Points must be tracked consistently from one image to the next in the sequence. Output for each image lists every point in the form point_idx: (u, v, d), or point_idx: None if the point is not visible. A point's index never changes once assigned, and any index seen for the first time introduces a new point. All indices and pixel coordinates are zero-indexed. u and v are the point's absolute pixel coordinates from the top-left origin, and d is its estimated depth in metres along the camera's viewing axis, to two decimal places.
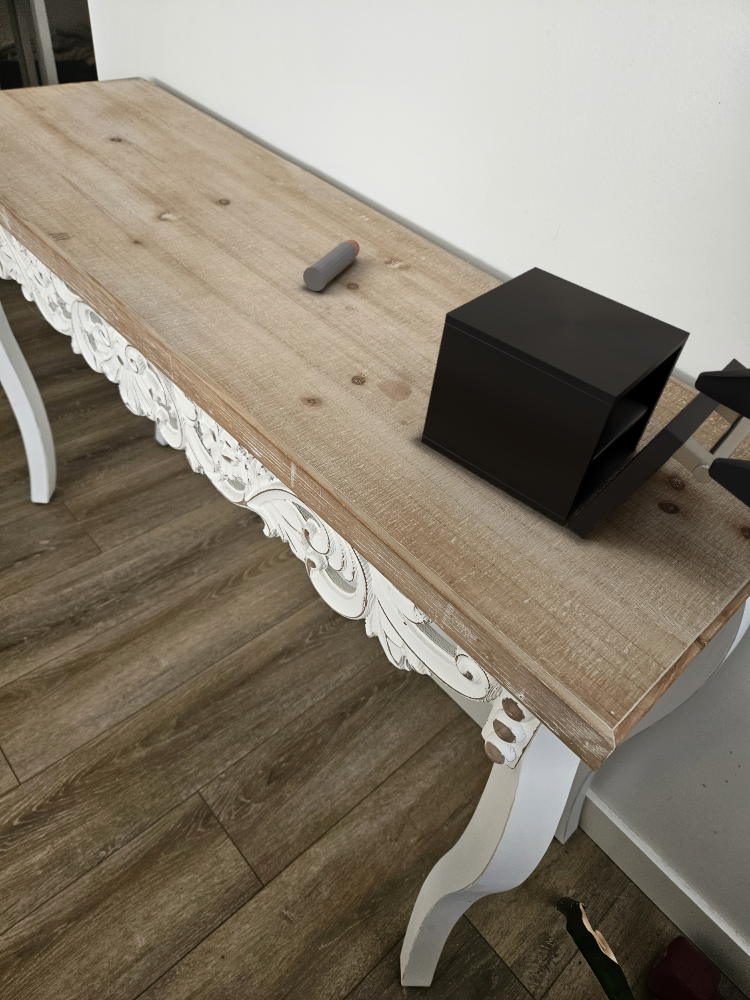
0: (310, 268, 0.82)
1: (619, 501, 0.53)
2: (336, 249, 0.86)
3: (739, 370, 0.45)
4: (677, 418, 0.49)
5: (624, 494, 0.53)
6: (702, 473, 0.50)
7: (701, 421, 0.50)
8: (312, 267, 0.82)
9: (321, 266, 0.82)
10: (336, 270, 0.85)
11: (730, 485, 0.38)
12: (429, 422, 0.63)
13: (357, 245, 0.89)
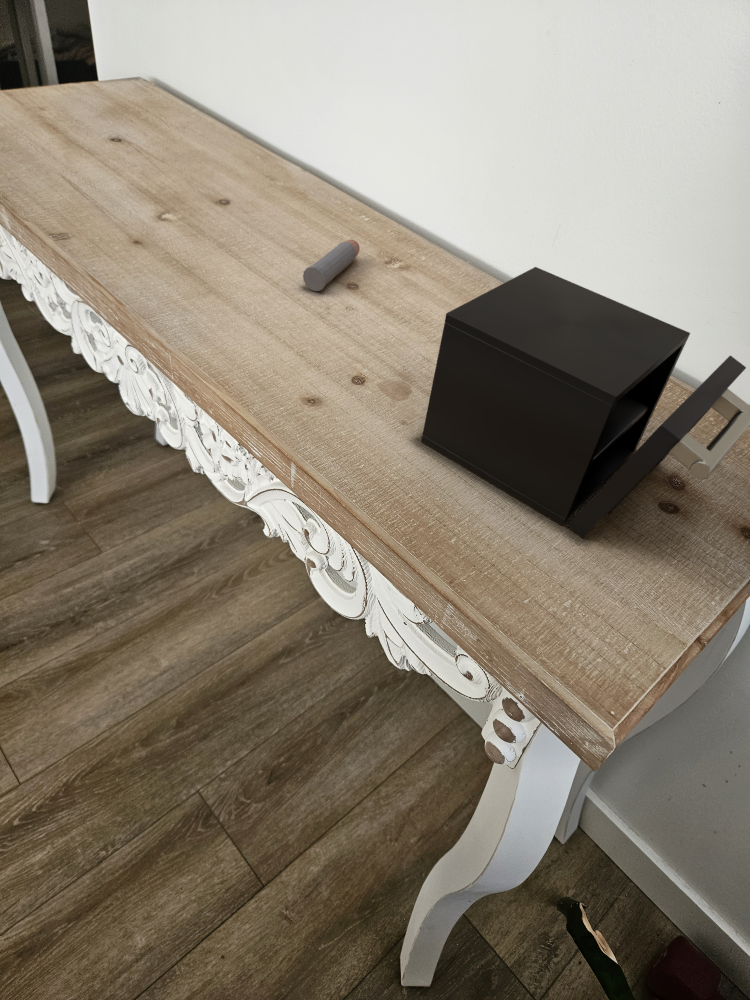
0: (310, 268, 0.82)
1: (618, 499, 0.53)
2: (336, 249, 0.86)
3: None
4: (673, 415, 0.49)
5: (622, 492, 0.53)
6: (699, 469, 0.50)
7: (697, 417, 0.50)
8: (312, 267, 0.82)
9: (321, 266, 0.82)
10: (336, 270, 0.85)
11: None
12: (429, 422, 0.63)
13: (357, 245, 0.89)
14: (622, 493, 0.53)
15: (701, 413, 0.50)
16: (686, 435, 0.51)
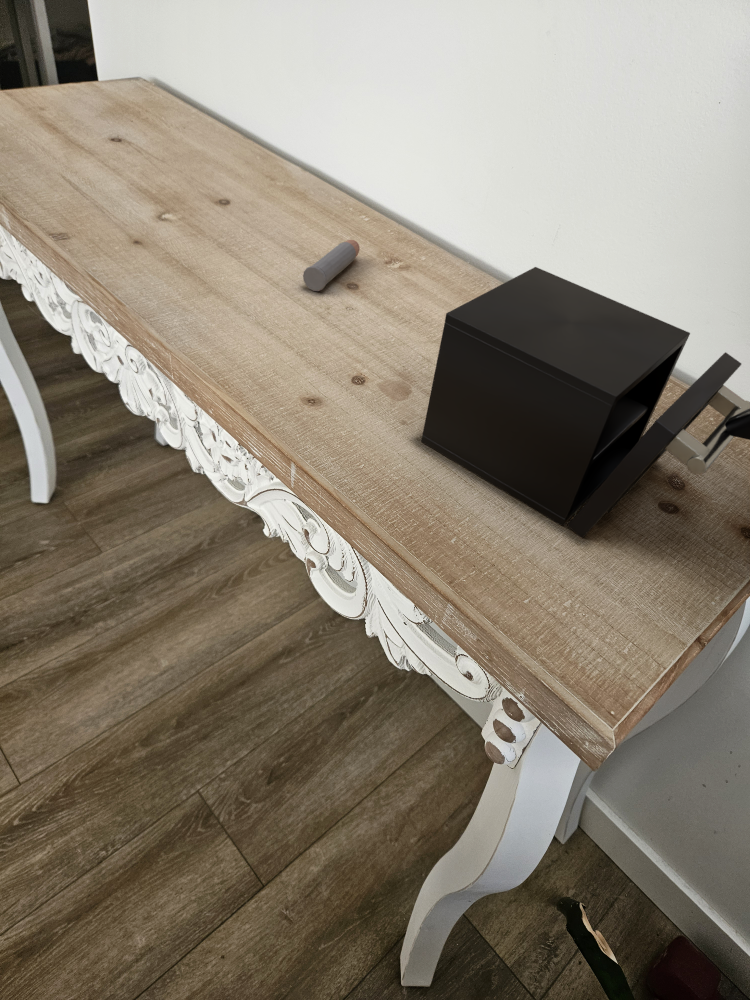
0: (310, 268, 0.82)
1: (616, 498, 0.53)
2: (336, 249, 0.86)
3: None
4: (667, 411, 0.49)
5: (620, 490, 0.53)
6: (696, 465, 0.50)
7: (692, 413, 0.50)
8: (312, 267, 0.82)
9: (321, 266, 0.82)
10: (336, 270, 0.85)
11: (744, 434, 0.51)
12: (429, 422, 0.63)
13: (357, 245, 0.89)
14: (620, 491, 0.53)
15: (696, 409, 0.51)
16: (682, 431, 0.51)
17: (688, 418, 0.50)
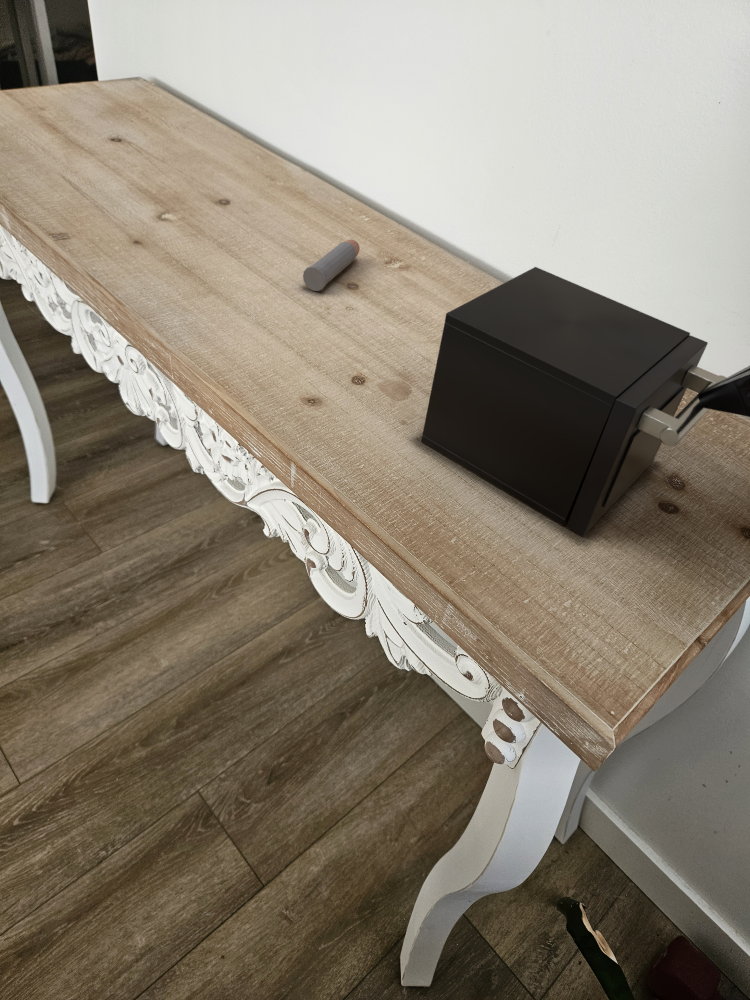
0: (310, 268, 0.82)
1: (602, 486, 0.54)
2: (336, 249, 0.86)
3: (732, 375, 0.51)
4: (628, 390, 0.51)
5: (604, 478, 0.53)
6: (668, 436, 0.50)
7: (655, 388, 0.51)
8: (312, 267, 0.82)
9: (321, 266, 0.82)
10: (336, 270, 0.85)
11: (716, 406, 0.52)
12: (429, 422, 0.63)
13: (357, 245, 0.89)
14: (604, 478, 0.53)
15: (659, 385, 0.52)
16: (649, 408, 0.51)
17: (650, 393, 0.51)
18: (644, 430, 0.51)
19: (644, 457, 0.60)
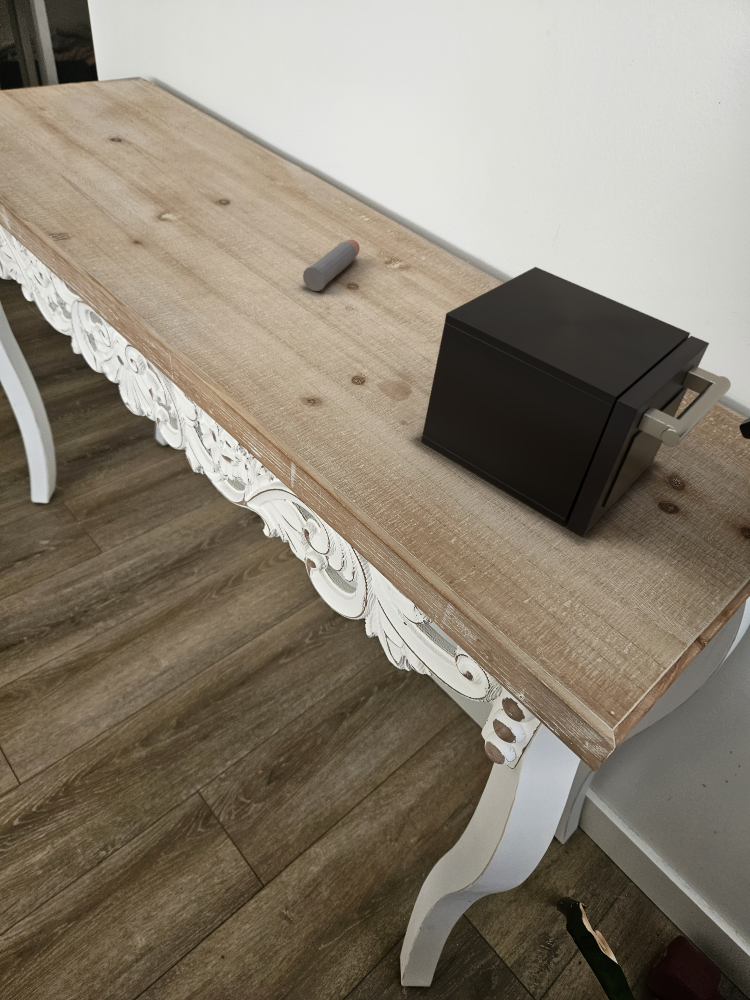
0: (310, 268, 0.82)
1: (602, 487, 0.54)
2: (336, 249, 0.86)
3: None
4: (629, 390, 0.51)
5: (604, 478, 0.53)
6: (669, 437, 0.50)
7: (656, 389, 0.51)
8: (312, 267, 0.82)
9: (321, 266, 0.82)
10: (336, 270, 0.85)
11: None
12: (429, 422, 0.63)
13: (357, 245, 0.89)
14: (604, 479, 0.53)
15: (660, 385, 0.51)
16: (650, 409, 0.51)
17: (652, 394, 0.50)
18: (645, 431, 0.51)
19: (644, 457, 0.60)
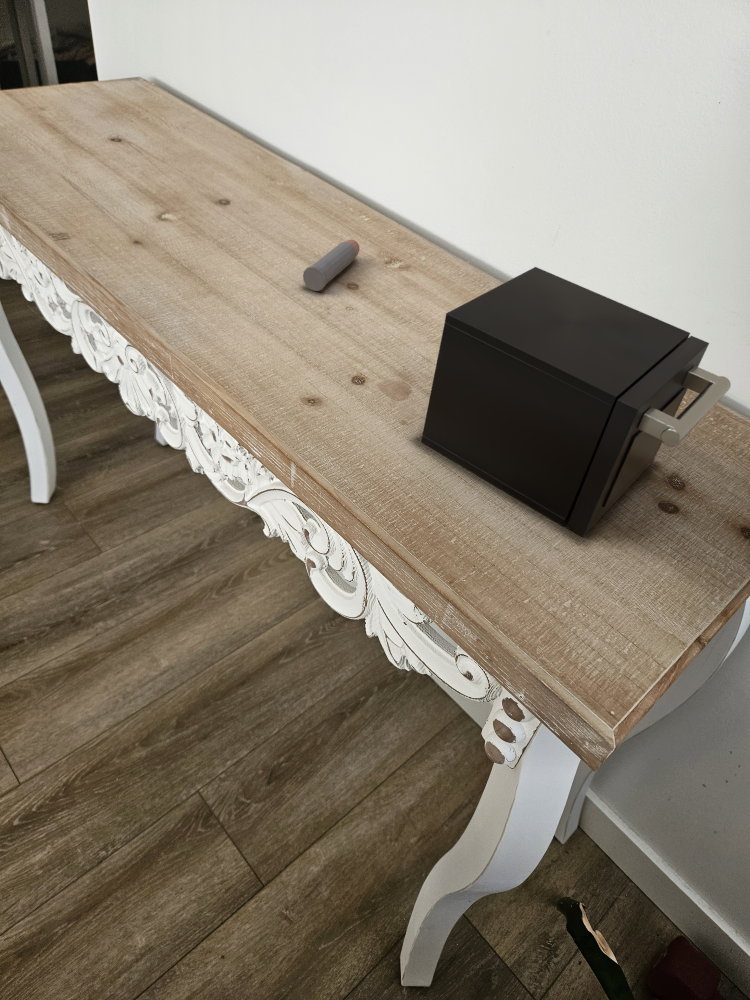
0: (310, 268, 0.82)
1: (602, 487, 0.54)
2: (336, 249, 0.86)
3: None
4: (629, 390, 0.51)
5: (604, 478, 0.53)
6: (669, 437, 0.50)
7: (656, 389, 0.51)
8: (312, 267, 0.82)
9: (321, 266, 0.82)
10: (336, 270, 0.85)
11: None
12: (429, 422, 0.63)
13: (357, 245, 0.89)
14: (604, 479, 0.53)
15: (660, 385, 0.51)
16: (650, 409, 0.51)
17: (652, 394, 0.50)
18: (645, 431, 0.51)
19: (644, 457, 0.60)
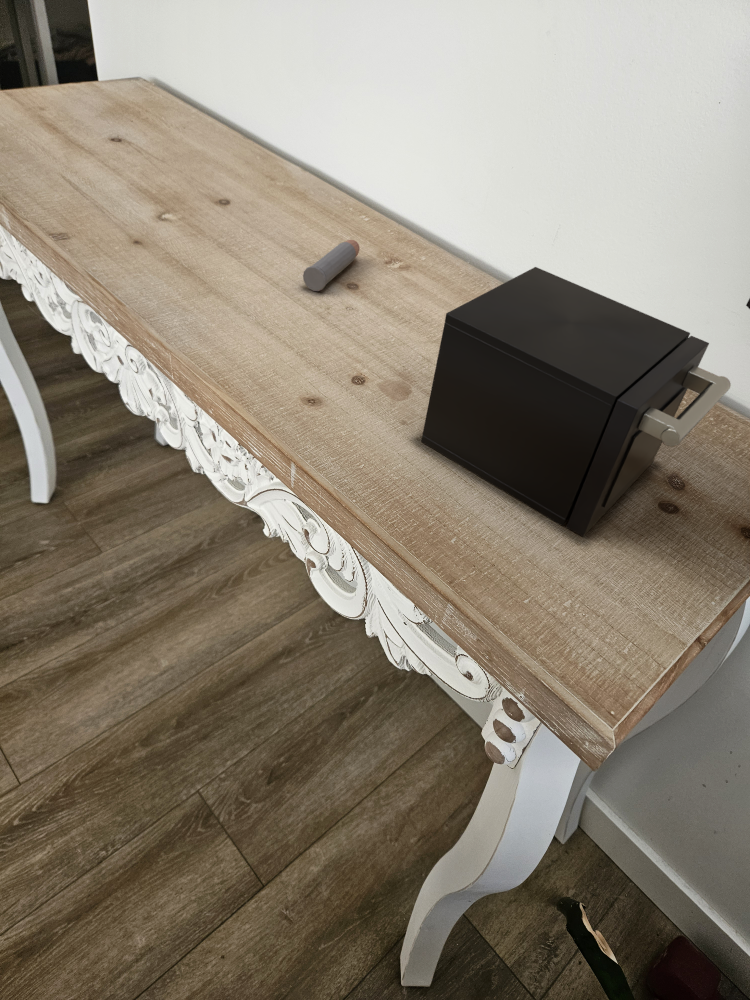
0: (310, 268, 0.82)
1: (602, 487, 0.54)
2: (336, 249, 0.86)
3: None
4: (629, 390, 0.51)
5: (604, 478, 0.53)
6: (669, 437, 0.50)
7: (656, 389, 0.51)
8: (312, 267, 0.82)
9: (321, 266, 0.82)
10: (336, 270, 0.85)
11: None
12: (429, 422, 0.63)
13: (357, 245, 0.89)
14: (604, 479, 0.53)
15: (660, 385, 0.51)
16: (650, 409, 0.51)
17: (652, 394, 0.50)
18: (645, 431, 0.51)
19: (644, 457, 0.60)
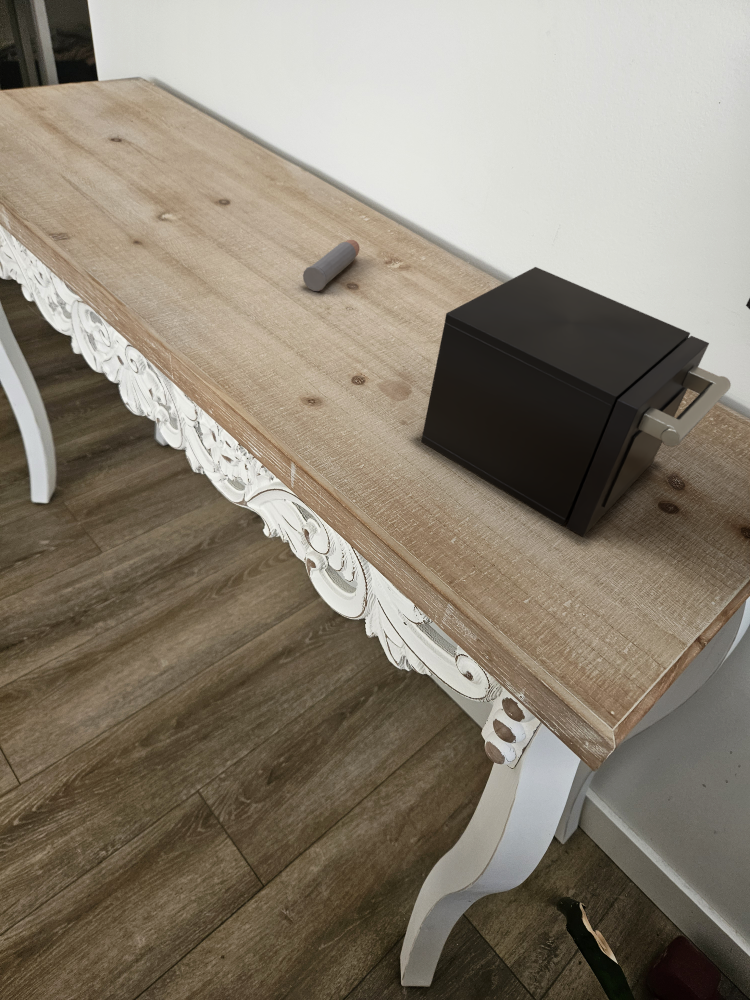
0: (310, 268, 0.82)
1: (602, 487, 0.54)
2: (336, 249, 0.86)
3: None
4: (629, 390, 0.51)
5: (604, 478, 0.53)
6: (669, 437, 0.50)
7: (656, 389, 0.51)
8: (312, 267, 0.82)
9: (321, 266, 0.82)
10: (336, 270, 0.85)
11: None
12: (429, 422, 0.63)
13: (357, 245, 0.89)
14: (604, 479, 0.53)
15: (660, 385, 0.51)
16: (650, 409, 0.51)
17: (652, 394, 0.50)
18: (645, 431, 0.51)
19: (644, 457, 0.60)
